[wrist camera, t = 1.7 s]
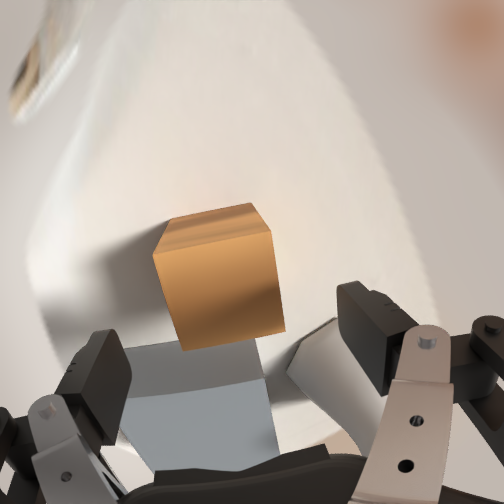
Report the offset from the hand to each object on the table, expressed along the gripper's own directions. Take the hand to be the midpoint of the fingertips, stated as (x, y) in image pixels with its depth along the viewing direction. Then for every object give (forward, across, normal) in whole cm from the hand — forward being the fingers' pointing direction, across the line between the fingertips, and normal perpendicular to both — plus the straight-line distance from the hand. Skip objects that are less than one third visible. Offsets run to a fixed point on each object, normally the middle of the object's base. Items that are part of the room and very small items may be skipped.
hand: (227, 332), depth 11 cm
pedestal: (+8, +4, +9) cm, 13 cm away
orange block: (+8, 0, -1) cm, 8 cm away
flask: (+8, -6, +9) cm, 14 cm away
